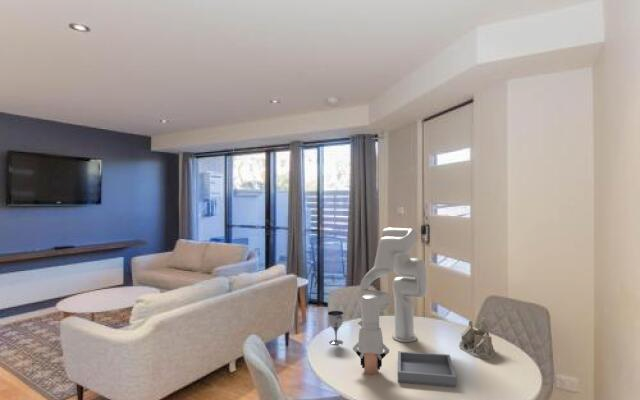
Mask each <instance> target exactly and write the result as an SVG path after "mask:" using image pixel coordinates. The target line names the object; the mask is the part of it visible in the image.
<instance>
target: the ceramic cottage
mask: <svg viewBox="0 0 640 400" xmlns="http://www.w3.org/2000/svg"><path fill="white" fill-rule="evenodd" d="M489 332H490V327H489V323H486V318H484V317H483V318H482V319H481V320H480V322H477V329H474V326H473V320H470V319H469V320H468V326H467V327H466V328H465V330H463V332H462V333H460V335H461V341H459V345H458V347H459V349H460V350H462V351H463V352H464V353H466V354H469V355H470V356H472V357H474V358H477V359H483V360H491V359H493V357H495V355H496V350H495V349H494V345H493V341H492V339H493V338H492V336H491V335H490V333H489Z"/></svg>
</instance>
